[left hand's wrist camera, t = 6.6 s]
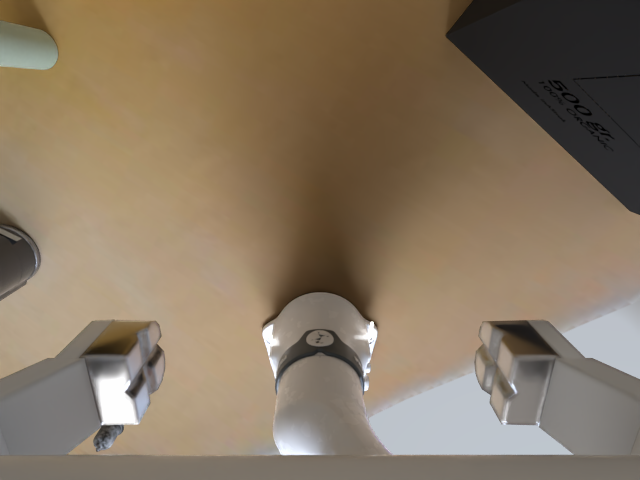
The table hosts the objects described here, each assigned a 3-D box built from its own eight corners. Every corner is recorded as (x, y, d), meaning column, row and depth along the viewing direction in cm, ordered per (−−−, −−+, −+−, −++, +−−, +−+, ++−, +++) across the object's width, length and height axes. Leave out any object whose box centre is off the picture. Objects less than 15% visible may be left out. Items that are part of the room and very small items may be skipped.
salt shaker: (110, 396, 70) (69, 454, 59) (125, 374, 69) (87, 430, 57) (139, 412, 71) (106, 472, 60) (155, 391, 70) (123, 448, 59)
